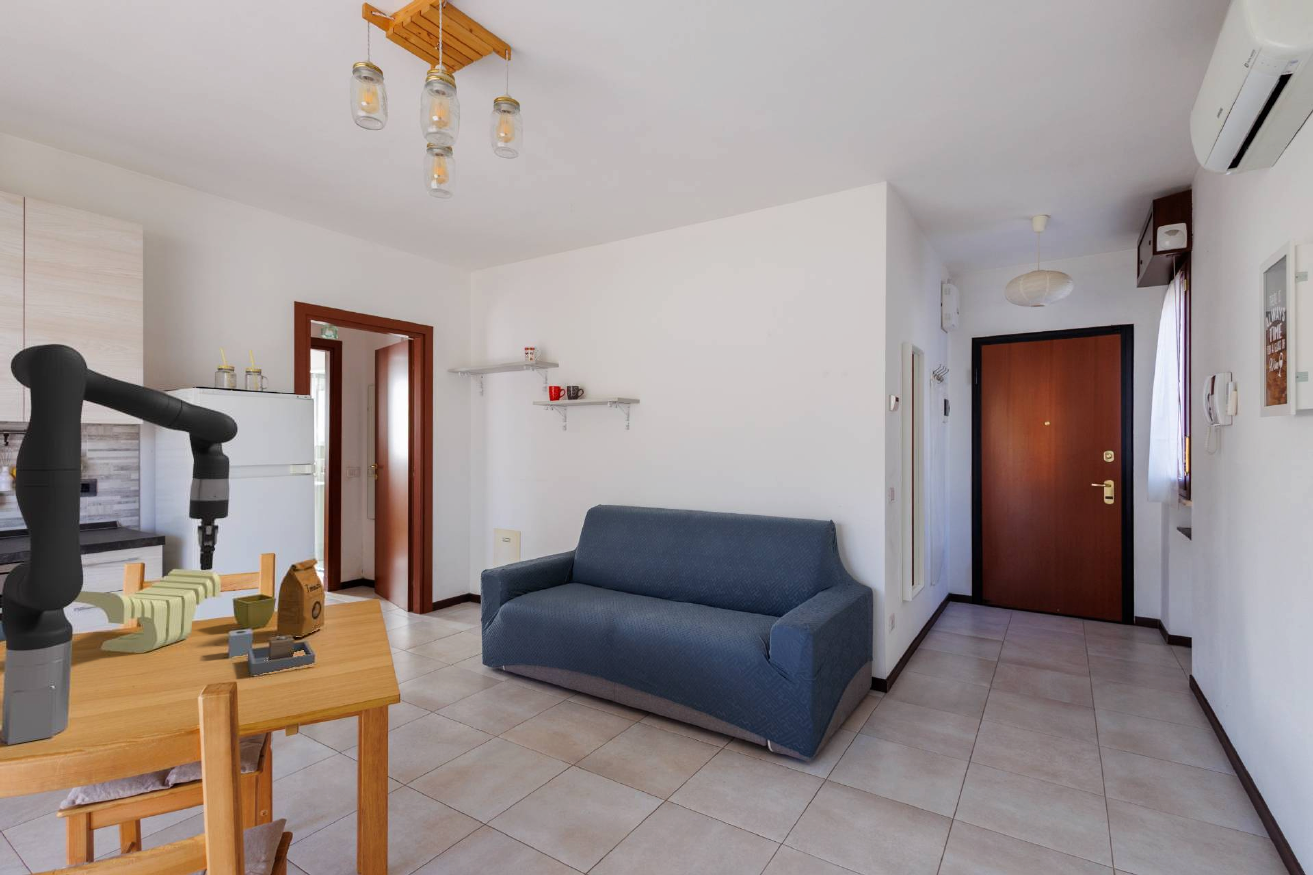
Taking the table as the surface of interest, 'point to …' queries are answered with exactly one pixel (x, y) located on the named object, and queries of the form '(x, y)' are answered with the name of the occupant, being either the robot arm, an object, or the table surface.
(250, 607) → the flower pot
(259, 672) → the tray
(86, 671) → the table surface
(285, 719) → the table surface
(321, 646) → the table surface
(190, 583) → the slatted curved stool
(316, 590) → the coffee package
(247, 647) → the slate block
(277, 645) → the walnut block
